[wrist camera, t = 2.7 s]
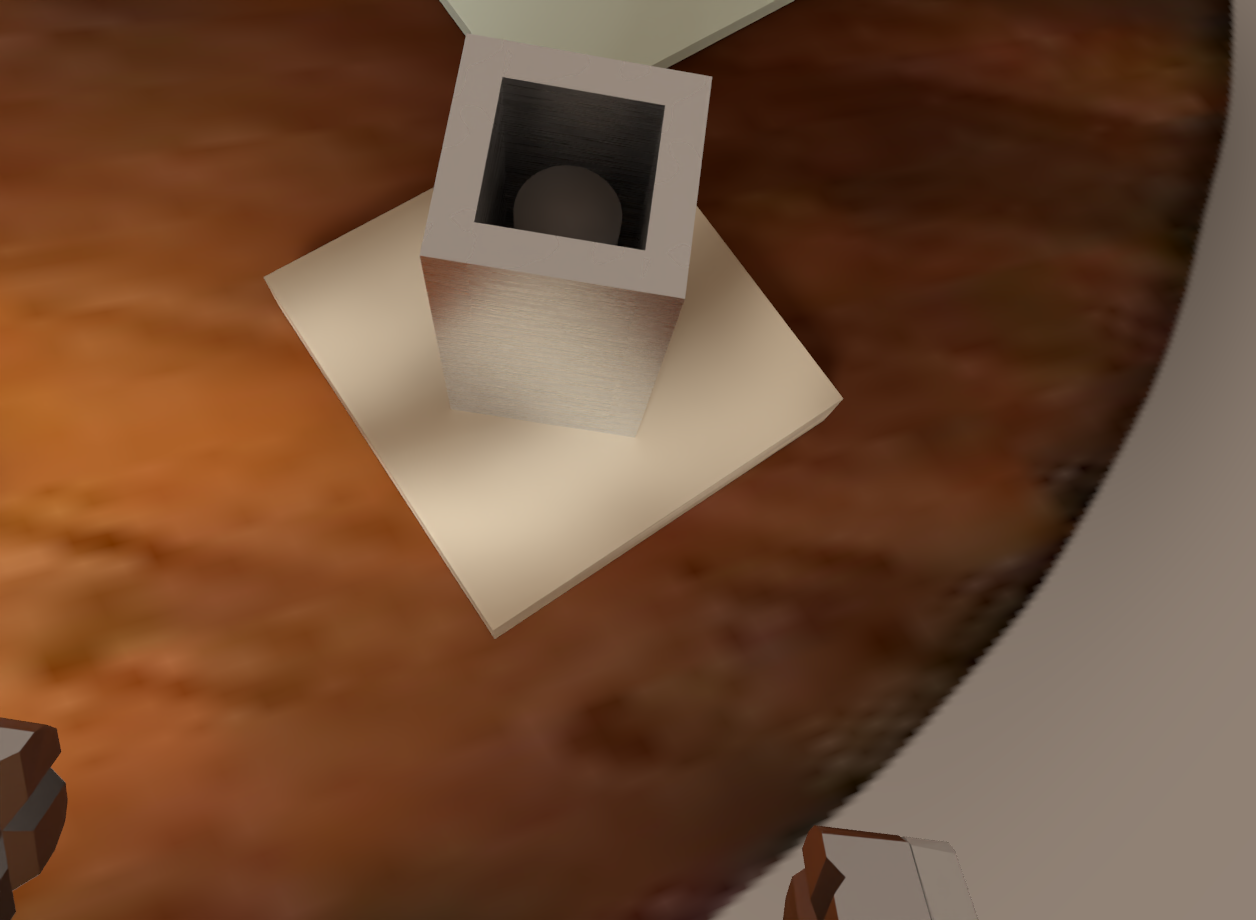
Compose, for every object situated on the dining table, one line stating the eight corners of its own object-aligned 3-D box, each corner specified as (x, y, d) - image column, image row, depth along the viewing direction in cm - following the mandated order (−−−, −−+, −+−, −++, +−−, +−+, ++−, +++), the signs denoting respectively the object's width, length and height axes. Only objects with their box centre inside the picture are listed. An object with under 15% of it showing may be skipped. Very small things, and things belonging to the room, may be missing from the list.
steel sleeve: (635, 437, 28) (685, 298, 20) (450, 409, 28) (419, 255, 19) (656, 272, 30) (712, 76, 21) (482, 243, 29) (466, 33, 21)
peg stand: (280, 307, 30) (184, 130, 22) (606, 131, 33) (635, -87, 25) (494, 639, 28) (482, 588, 20) (823, 420, 31) (939, 293, 23)
